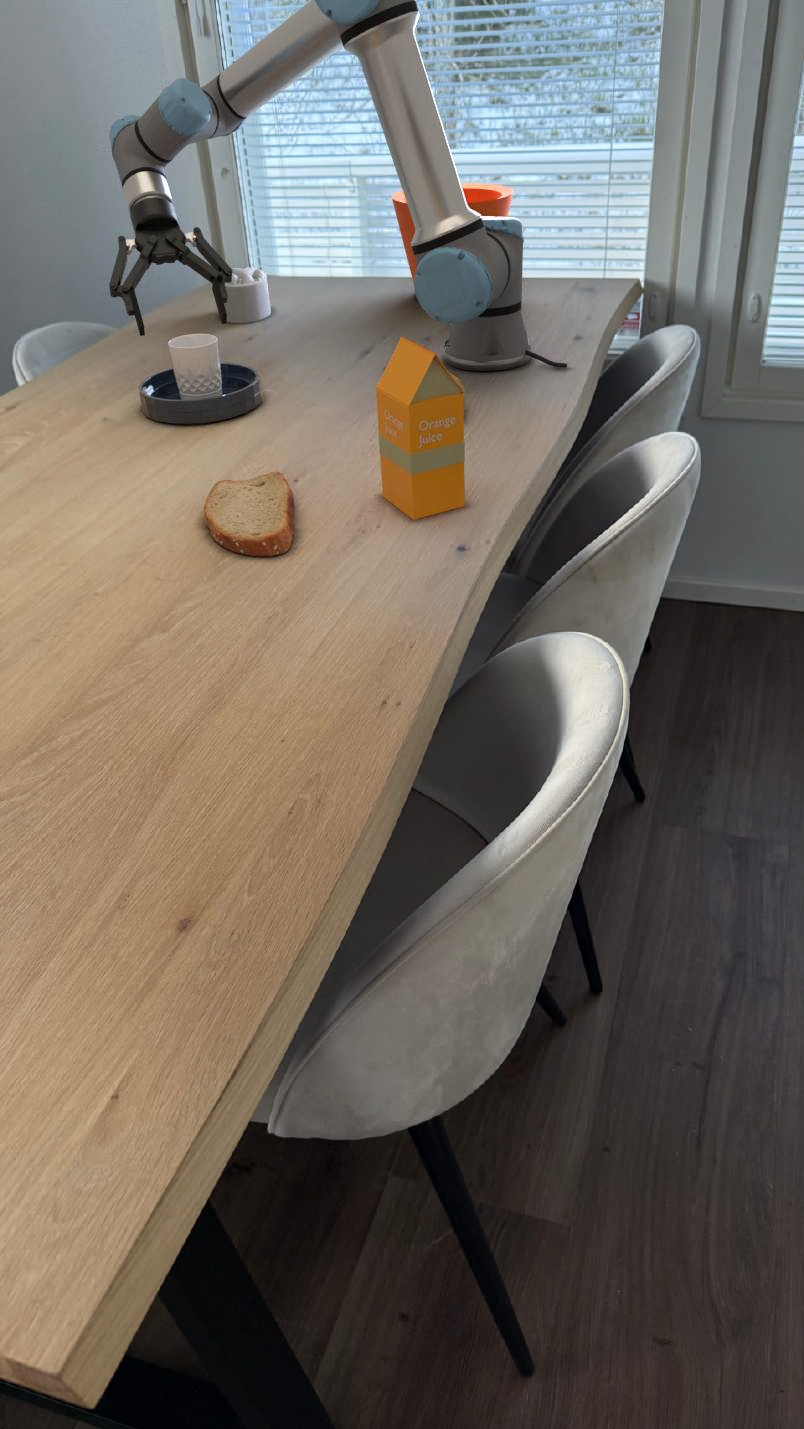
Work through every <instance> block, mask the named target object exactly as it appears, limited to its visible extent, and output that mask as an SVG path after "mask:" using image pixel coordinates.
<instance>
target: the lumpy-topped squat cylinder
mask: <svg viewBox="0 0 804 1429" xmlns="http://www.w3.org/2000/svg"><path fill="white" fill-rule="evenodd" d="M231 269H232V281H231V282H230V283H225V287H226V290H227V294H228V298H227V303H224V305H225V309H226V313H227V322H226V323H232V324H249V323H254V322H258V321H262V320H264V319H266V318H268V317H269V316H270V315H271V313H272V309H271V300H270V293H269V285H268V277H267V273H266V272H265V271H264V270H262V269H256V268H255V267H252V266H251V267H250V266H245V267H234V268H233V267H232V268H231Z"/></svg>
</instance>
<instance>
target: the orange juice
mask: <svg viewBox="0 0 804 1429" xmlns="http://www.w3.org/2000/svg"><path fill="white" fill-rule="evenodd" d="M450 374H451V373H450V371H449V370H448V369H447V368H446V366H445V365H444V364H443V362H442V361H441V359H440V358H439V356H438V355H437V354H436V351H433V350H431V349H429V348H426V347H425V346H422V345H420V344H419V343H416V342H415V341H412V340H411V339H408V338H406V337H404V336H402V335H400V338H399V341H398V342H397V346H396V347H395V349H394V352H393V353H392V355H391V357H390V359H389V361H388V363H387V364H386V368H385V369H384V371H383V374H382V376H381V377H380V380H379V381H378V383H377V385H375V392H376V409H377V425H378V426H377V427H378V428H377V429H378V448H379V457H380V458H379V459H380V474H381V491H382V497H383V498H384V499H385V500H387V501H388V502H390V504H392V505H393V506H395V507H396V508H397V509H398V510H400V511H401V512H402V513H403V514H405V515H407V517H409V518H410V519H411V520H414V521H415V520H418V519H419V520H420V519H422V518H426V517H429V516H435V515H438V514H441V513H445V512H449V511H452V510H456V509H459V508H463V507H465V506H466V503H465V502H466V499H465V497H466V493H465V491H466V490H465V489H466V487H465V462H466V461H465V460H466V459H465V458H466V457H465V456H466V455H465V454H466V453H465V451H466V449H465V446H466V445H465V405H464V393H463V392H462V390H461V389H460V387H459V386H458V385H457V383H456V382H455V380H454V379H453V378H452V376H451V375H450Z"/></svg>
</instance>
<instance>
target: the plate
mask: <svg viewBox="0 0 804 1429" xmlns="http://www.w3.org/2000/svg"><path fill="white" fill-rule="evenodd" d="M220 367H221V379H222V385H221V386H222V394H223V395H221V396H217V397H211V398H204V399H195V400H181V397H180V392H179V391H180V390H179V388H178V386H177V382H176V377H175V374H174V370H173V367H170V368H167V369H165V370H161V371H158V372H156V373H154V374H152V375H149V376H147V377H146V378H144V379H142V381H141V382H140V383H139V385H138V388H137V389H138V393H139V398H140V402H141V408H142V412H143V414H144V415H145V416H146V417H148V418H149V419H151V420H153V421H156V422H162V423H168V424H176V425H177V424H178V425H198V424H200V425H201V424H208V423H214V422H220V421H226V420H229V419H232V418H236V417H238V416H240V415H243V414H246V413H248V412H250V411H251V410H253V409H255V408H257V407H258V406H259V405H260V404H261V402H262V400H263V398H264V397H263V389H262V381H261V375H260V373H259V372H258V370H257V369H255V368H253V367H252V366H248V365H245V364H240V363H233V362H220Z"/></svg>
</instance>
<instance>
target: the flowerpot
mask: <svg viewBox="0 0 804 1429" xmlns="http://www.w3.org/2000/svg"><path fill="white" fill-rule="evenodd" d="M460 184H461V187H462V190H463V193H464V197H465V200H466V203H467V206H468V208H469V209H471V210H473V211H475V212H476V213H478V214H480V215H481V217H509V214H510V209H511V204H512V199H513V195H514V191H515V190H514V189H513V188H511V187H509V186H505V185H500V184H493V183H477V182H476V183H475V182H474V183H473V182H472V183H469V182H468V183H467V182H466V183H465V182H463V183H461V182H460ZM391 200H392V205H393V209H394V212H395V216H396V220H397V224H398V228H399V233H400V236H401V239H402V245H403V247H404V251H405V255H406V256H405V257H406V260H407V263H408V267H409V271H410V275H411V280H412V283H413V284H414V277H415V273H416V269H417V266H418V265H417V262H416V259H415V256H414V253H413V250H412V247H411V241H412V239H413V237H414V234H415V229H416V228H415V225H414V222H413V219H412V216H411V213H410V210H409V207H408V204H407V201H406V199H405V196H404V193H403V190H400V191H398V192H395V193H393V194H392V195H391Z"/></svg>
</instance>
